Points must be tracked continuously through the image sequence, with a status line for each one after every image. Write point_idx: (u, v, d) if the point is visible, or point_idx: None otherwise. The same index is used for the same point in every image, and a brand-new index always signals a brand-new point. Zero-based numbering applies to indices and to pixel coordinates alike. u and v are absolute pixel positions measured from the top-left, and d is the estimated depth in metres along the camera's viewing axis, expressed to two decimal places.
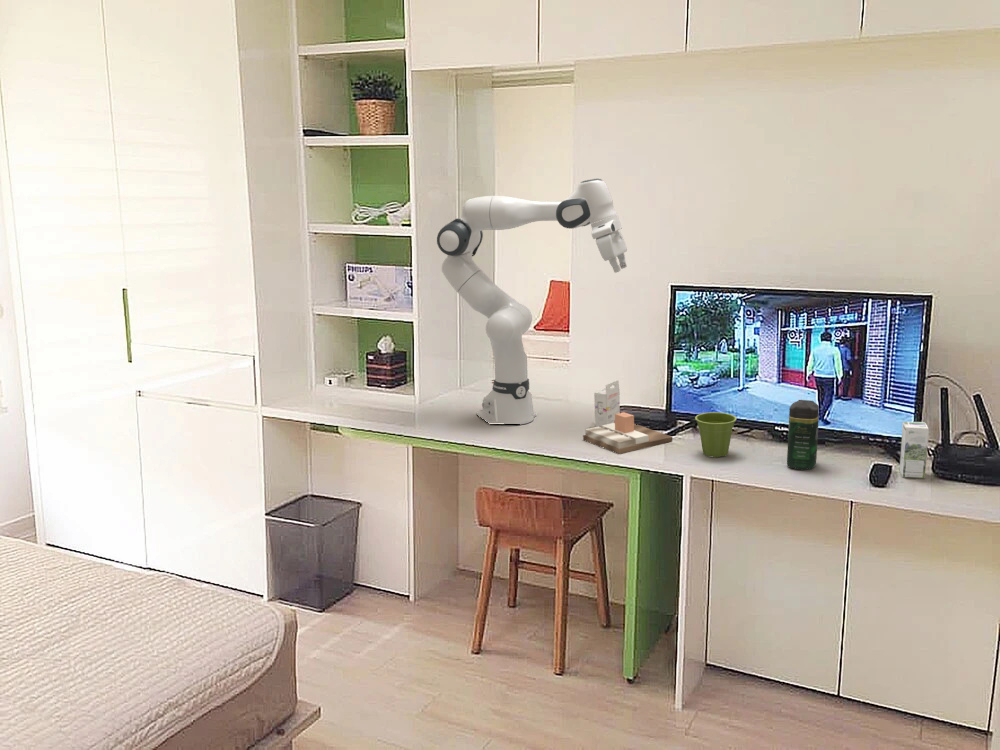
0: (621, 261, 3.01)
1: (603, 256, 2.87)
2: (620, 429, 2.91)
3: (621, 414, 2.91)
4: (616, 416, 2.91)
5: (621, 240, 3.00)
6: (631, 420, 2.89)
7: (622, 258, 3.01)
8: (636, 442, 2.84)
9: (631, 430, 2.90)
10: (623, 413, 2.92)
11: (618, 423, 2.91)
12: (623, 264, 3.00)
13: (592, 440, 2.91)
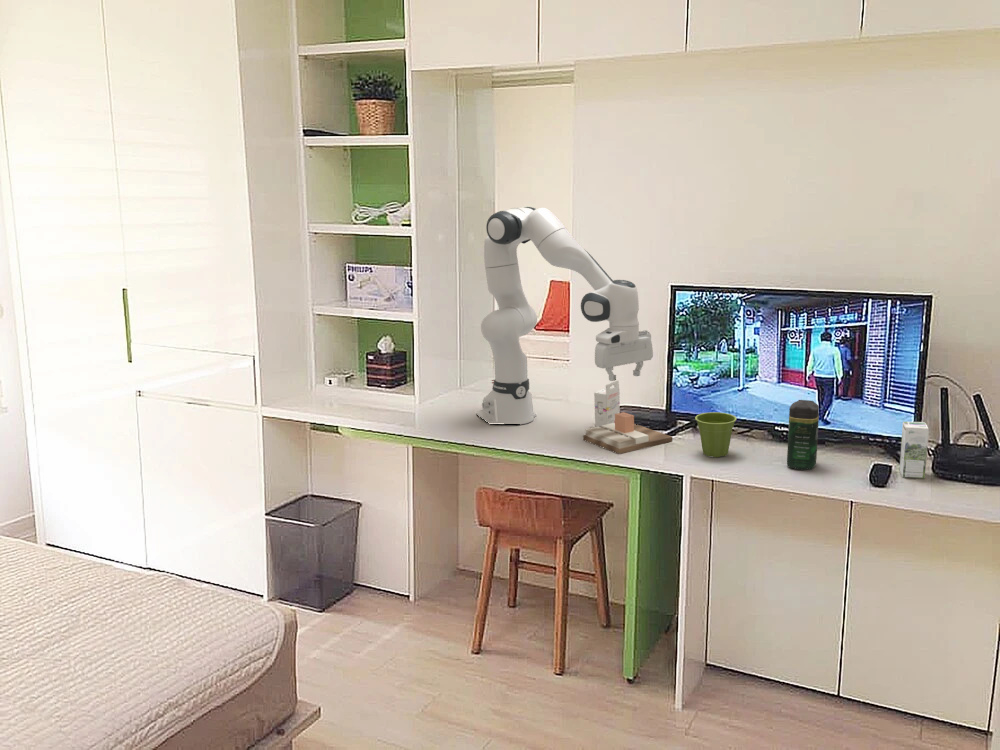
0: (637, 368, 2.90)
1: (595, 362, 2.83)
2: (620, 429, 2.91)
3: (621, 414, 2.91)
4: (616, 416, 2.91)
5: (643, 349, 2.88)
6: (631, 420, 2.89)
7: (639, 366, 2.90)
8: (636, 442, 2.84)
9: (631, 430, 2.90)
10: (623, 413, 2.92)
11: (618, 423, 2.91)
12: (636, 373, 2.90)
13: (592, 440, 2.91)
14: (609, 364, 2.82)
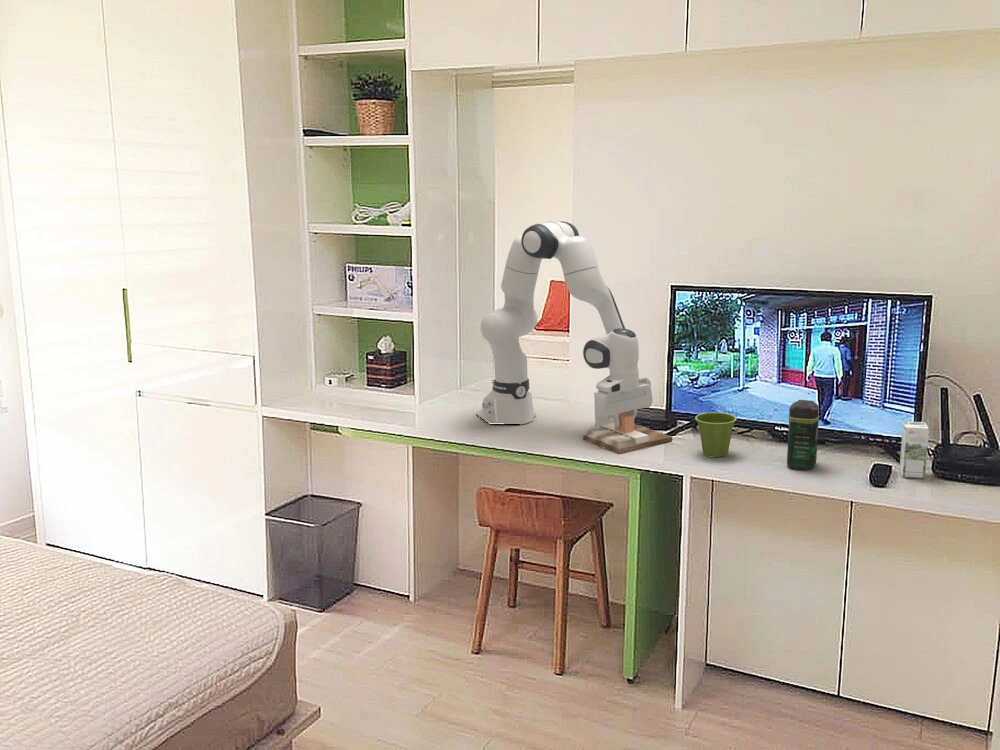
0: None
1: (595, 410, 2.86)
2: (620, 429, 2.91)
3: (621, 414, 2.91)
4: None
5: (642, 396, 2.91)
6: (631, 420, 2.89)
7: (633, 414, 2.92)
8: (636, 442, 2.84)
9: (631, 430, 2.90)
10: (623, 413, 2.92)
11: None
12: None
13: (592, 440, 2.91)
14: (609, 412, 2.85)
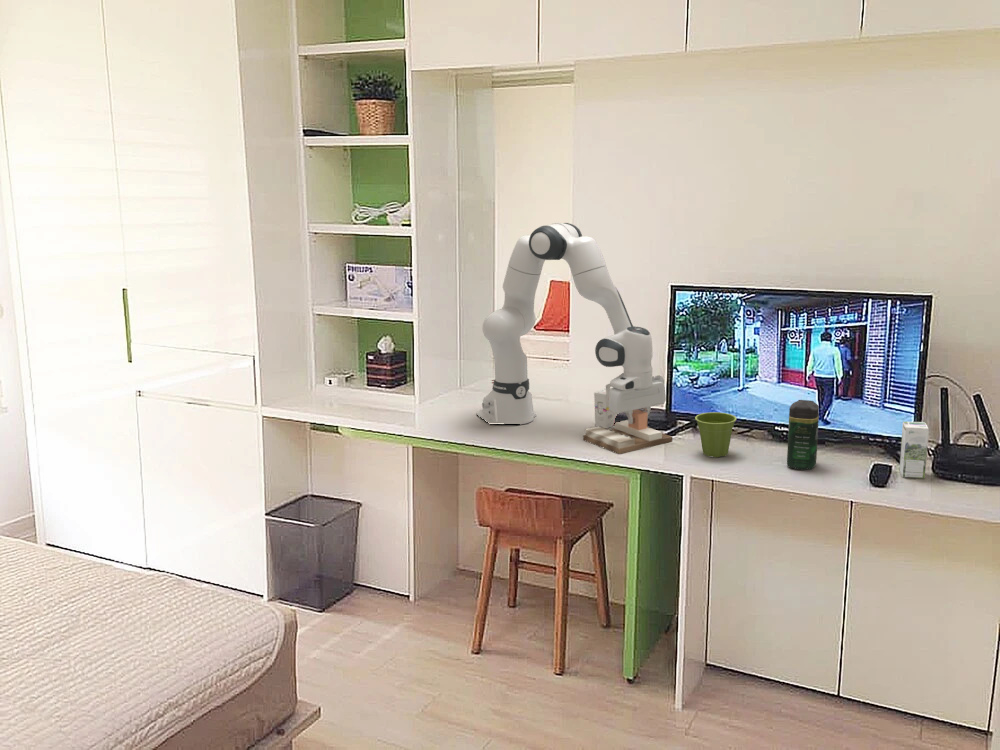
0: None
1: (609, 407, 2.89)
2: (634, 426, 2.93)
3: (634, 411, 2.94)
4: None
5: (656, 393, 2.94)
6: (644, 417, 2.92)
7: (646, 411, 2.95)
8: (650, 439, 2.87)
9: (644, 427, 2.93)
10: (636, 410, 2.95)
11: None
12: None
13: (592, 440, 2.91)
14: (623, 409, 2.88)
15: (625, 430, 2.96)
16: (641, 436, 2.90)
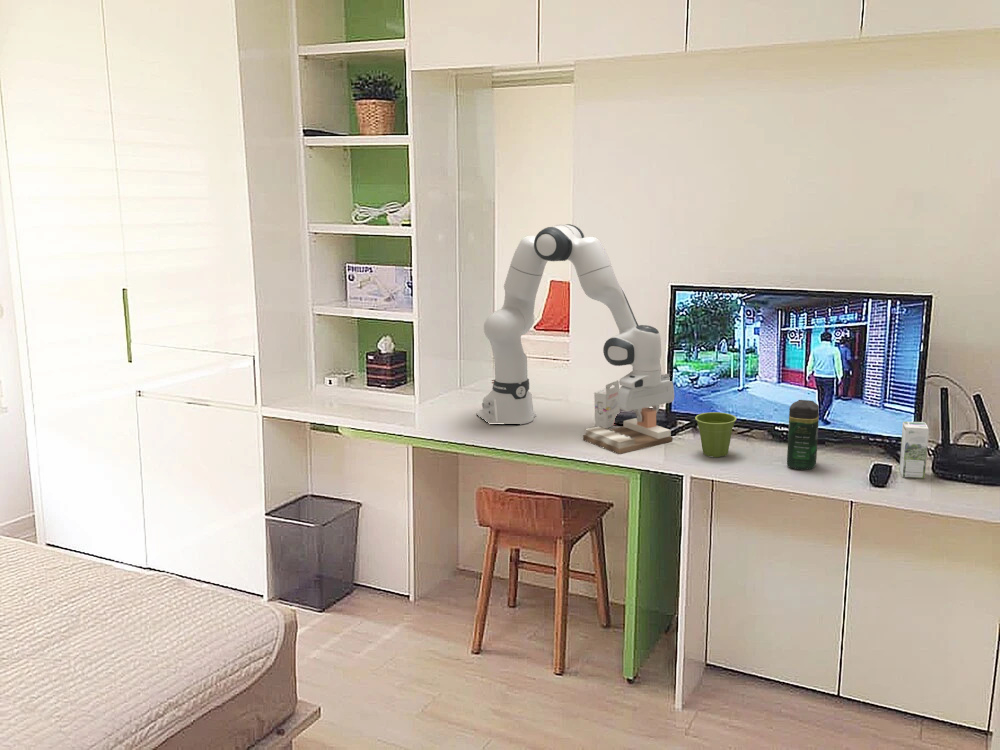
0: None
1: (618, 405, 2.91)
2: (643, 424, 2.95)
3: (643, 409, 2.96)
4: None
5: (664, 392, 2.96)
6: (653, 415, 2.94)
7: (655, 409, 2.97)
8: (659, 437, 2.89)
9: (653, 425, 2.95)
10: (645, 408, 2.97)
11: None
12: None
13: (592, 440, 2.91)
14: (632, 407, 2.90)
15: (634, 428, 2.98)
16: (650, 434, 2.91)
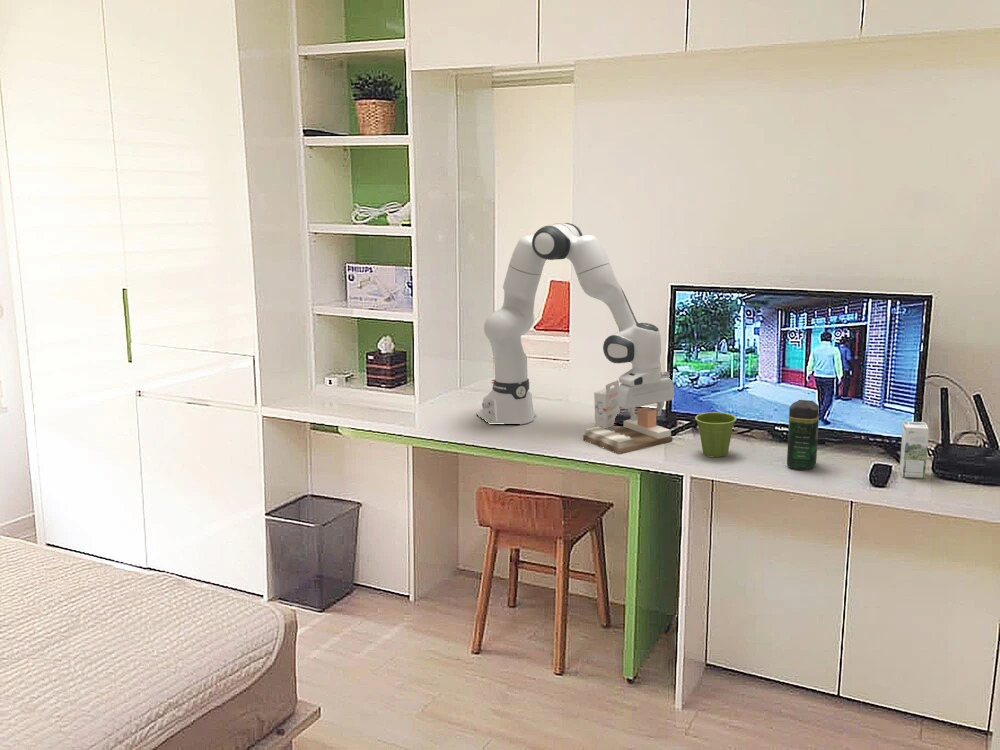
0: (657, 408, 2.98)
1: (618, 403, 2.91)
2: (643, 424, 2.95)
3: (643, 409, 2.96)
4: (639, 411, 2.96)
5: (664, 389, 2.95)
6: (653, 415, 2.94)
7: (660, 406, 2.98)
8: (659, 437, 2.89)
9: (653, 425, 2.95)
10: (645, 408, 2.97)
11: (640, 418, 2.96)
12: (657, 412, 2.98)
13: (592, 440, 2.91)
14: (631, 405, 2.90)
15: (634, 428, 2.98)
16: (650, 434, 2.91)
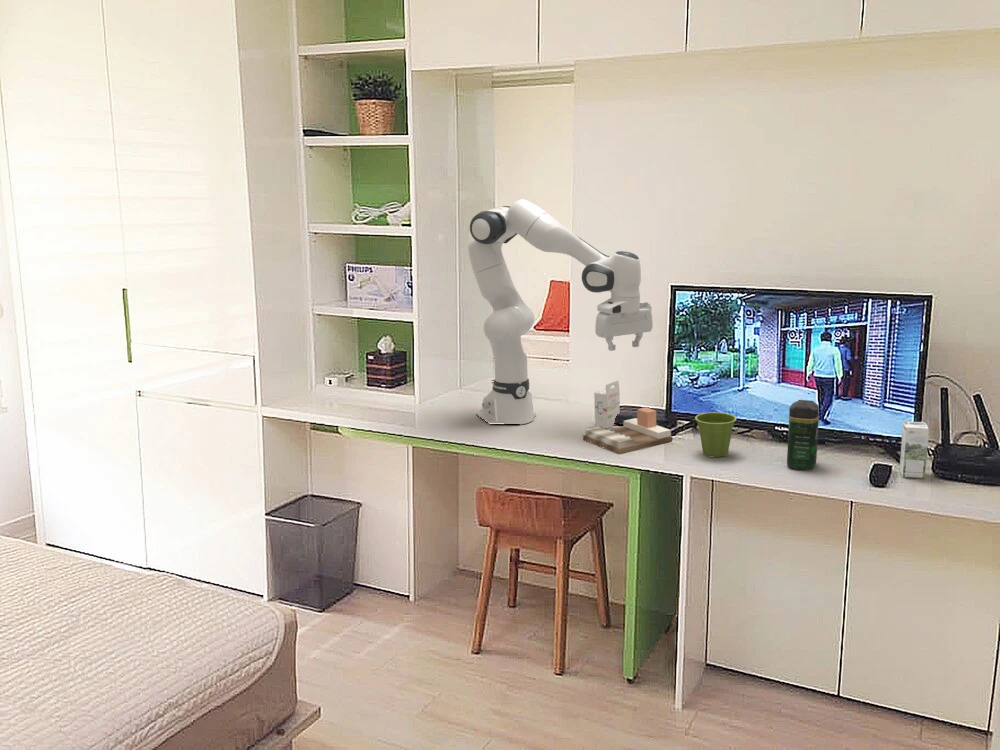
0: (636, 339, 2.95)
1: (596, 331, 2.87)
2: (643, 424, 2.95)
3: (643, 409, 2.96)
4: (639, 411, 2.96)
5: (643, 320, 2.92)
6: (653, 415, 2.94)
7: (638, 337, 2.95)
8: (659, 437, 2.89)
9: (653, 425, 2.95)
10: (645, 408, 2.97)
11: (640, 418, 2.96)
12: (635, 344, 2.94)
13: (592, 440, 2.91)
14: (609, 334, 2.86)
15: (634, 428, 2.98)
16: (650, 434, 2.91)
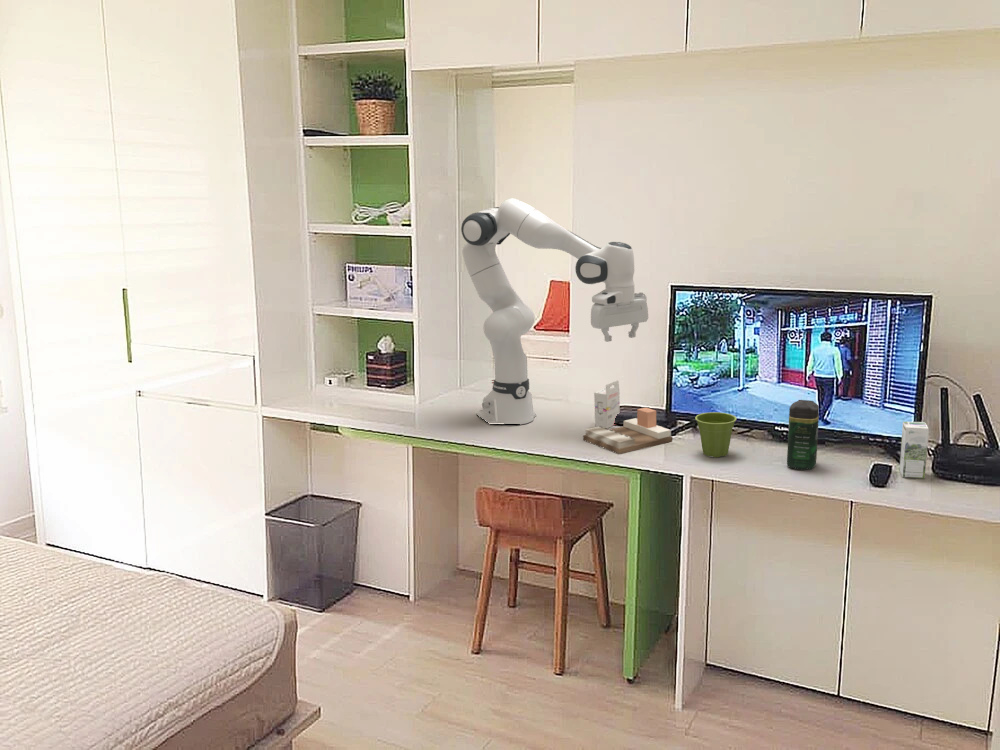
0: (632, 330, 2.94)
1: (591, 323, 2.87)
2: (643, 424, 2.95)
3: (643, 409, 2.96)
4: (639, 411, 2.96)
5: (638, 310, 2.92)
6: (653, 415, 2.94)
7: (634, 327, 2.94)
8: (659, 437, 2.89)
9: (653, 425, 2.95)
10: (645, 408, 2.97)
11: (640, 418, 2.96)
12: (631, 334, 2.94)
13: (592, 440, 2.91)
14: (605, 324, 2.86)
15: (634, 428, 2.98)
16: (650, 434, 2.91)
